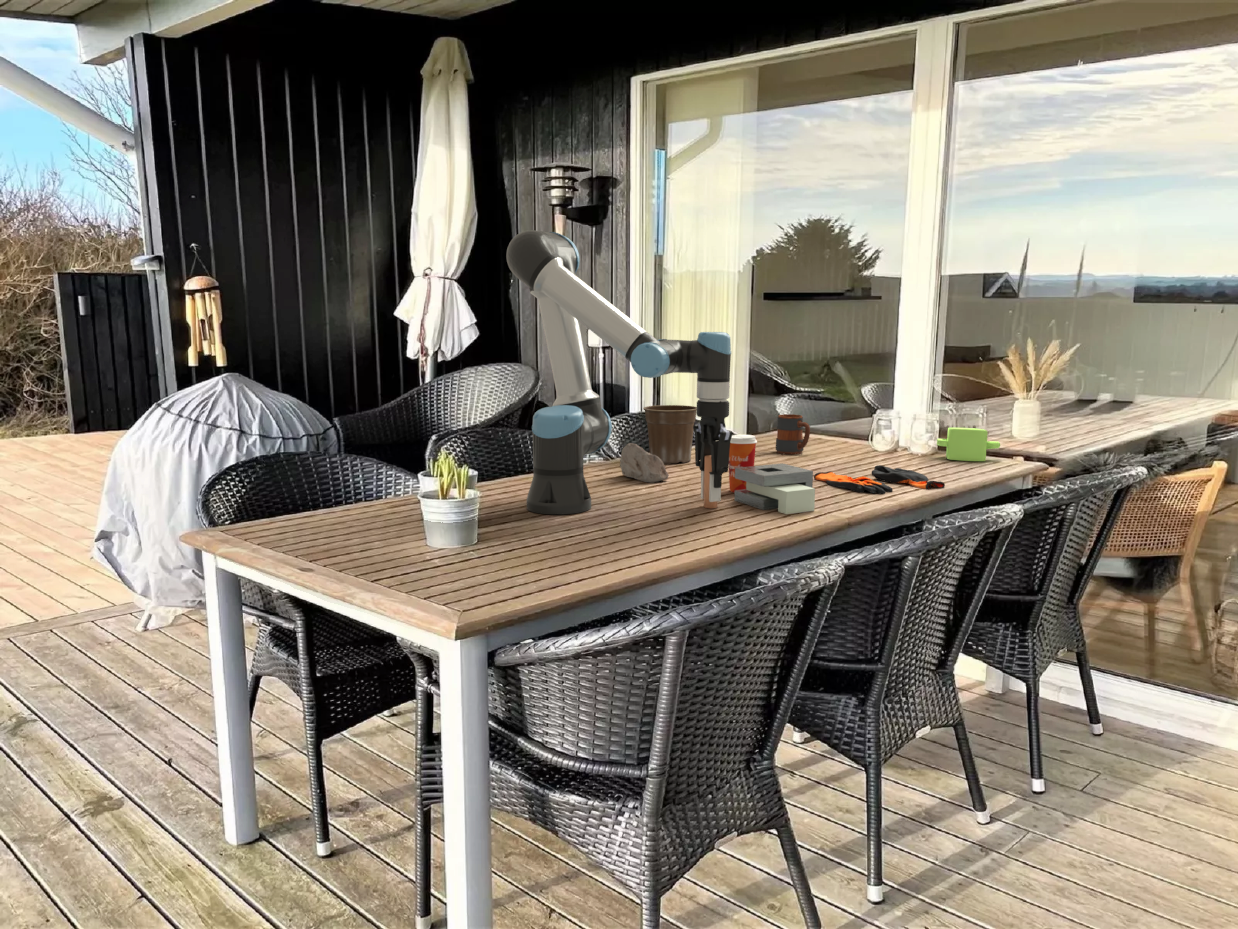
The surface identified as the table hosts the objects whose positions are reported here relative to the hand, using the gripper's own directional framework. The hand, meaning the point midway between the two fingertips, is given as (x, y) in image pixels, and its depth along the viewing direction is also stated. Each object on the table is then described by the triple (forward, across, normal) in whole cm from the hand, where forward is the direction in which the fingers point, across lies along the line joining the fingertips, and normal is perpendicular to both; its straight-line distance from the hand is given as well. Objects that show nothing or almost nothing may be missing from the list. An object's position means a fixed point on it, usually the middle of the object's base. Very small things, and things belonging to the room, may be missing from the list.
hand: (710, 499), depth 231 cm
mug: (+2, +55, -65) cm, 85 cm away
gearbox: (+2, +22, -105) cm, 107 cm away
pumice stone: (+3, +39, -3) cm, 39 cm away
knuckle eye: (+2, -6, -15) cm, 17 cm away
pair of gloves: (+2, +5, -55) cm, 55 cm away
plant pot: (+2, +61, -24) cm, 65 cm away
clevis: (+2, -2, -15) cm, 15 cm away
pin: (+2, 0, 0) cm, 2 cm away
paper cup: (+2, +13, -17) cm, 22 cm away
